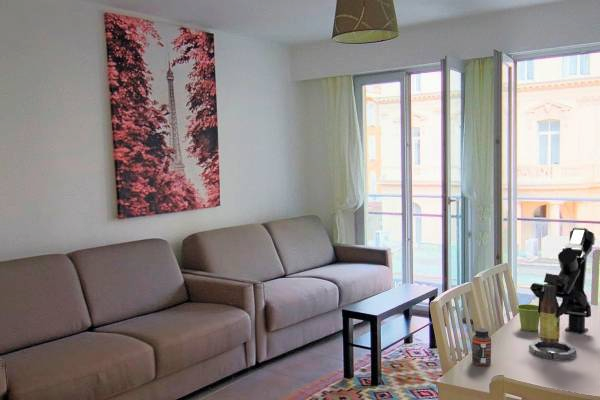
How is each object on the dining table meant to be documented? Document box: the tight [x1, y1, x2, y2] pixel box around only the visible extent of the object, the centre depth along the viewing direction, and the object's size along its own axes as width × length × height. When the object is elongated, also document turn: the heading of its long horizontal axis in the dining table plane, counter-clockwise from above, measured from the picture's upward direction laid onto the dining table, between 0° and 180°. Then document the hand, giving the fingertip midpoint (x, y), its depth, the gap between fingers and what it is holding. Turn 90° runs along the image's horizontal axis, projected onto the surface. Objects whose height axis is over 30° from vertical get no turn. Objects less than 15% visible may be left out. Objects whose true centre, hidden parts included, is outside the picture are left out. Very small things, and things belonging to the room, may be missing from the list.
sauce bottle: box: [539, 283, 561, 344], centre depth 200 cm, size 6×6×20 cm
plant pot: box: [516, 303, 540, 332], centre depth 226 cm, size 9×9×9 cm
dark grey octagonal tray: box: [528, 339, 577, 361], centre depth 200 cm, size 14×14×2 cm
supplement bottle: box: [471, 327, 492, 367], centre depth 192 cm, size 6×6×11 cm
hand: (547, 314), depth 199 cm, fingers closed on sauce bottle, 6 cm apart
